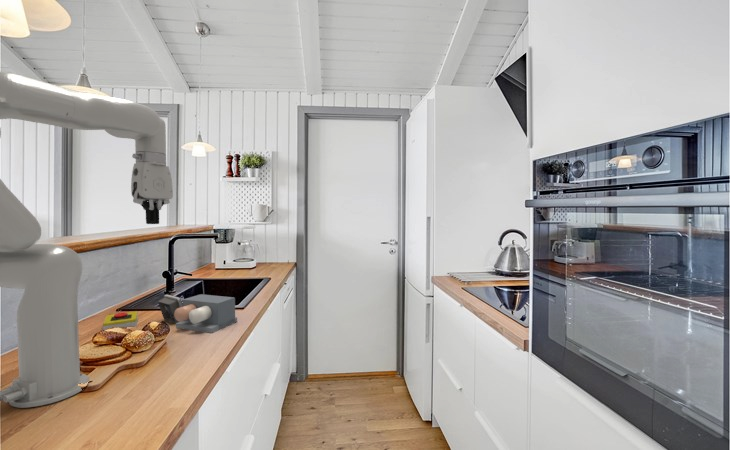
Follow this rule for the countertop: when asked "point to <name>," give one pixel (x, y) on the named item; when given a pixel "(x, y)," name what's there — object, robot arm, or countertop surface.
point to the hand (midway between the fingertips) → (152, 223)
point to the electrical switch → (169, 307)
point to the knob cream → (200, 314)
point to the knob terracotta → (183, 312)
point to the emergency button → (121, 320)
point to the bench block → (220, 313)
